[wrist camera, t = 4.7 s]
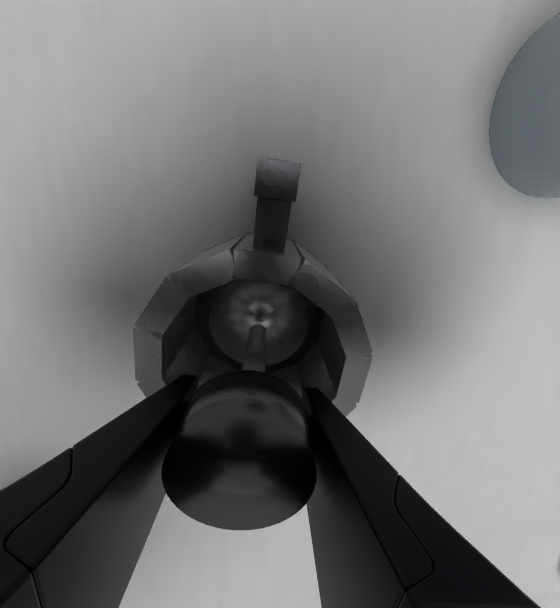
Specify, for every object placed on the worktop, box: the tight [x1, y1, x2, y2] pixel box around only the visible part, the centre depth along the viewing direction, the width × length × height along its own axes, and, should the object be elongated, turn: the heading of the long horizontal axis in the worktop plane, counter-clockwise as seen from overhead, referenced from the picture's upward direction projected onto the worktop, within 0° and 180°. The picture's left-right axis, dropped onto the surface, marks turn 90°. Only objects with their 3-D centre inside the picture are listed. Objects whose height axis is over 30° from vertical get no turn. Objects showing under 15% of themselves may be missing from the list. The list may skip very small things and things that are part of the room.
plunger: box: [161, 279, 317, 530], centre depth 10 cm, size 5×5×8 cm
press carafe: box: [133, 156, 372, 417], centre depth 11 cm, size 8×11×5 cm
